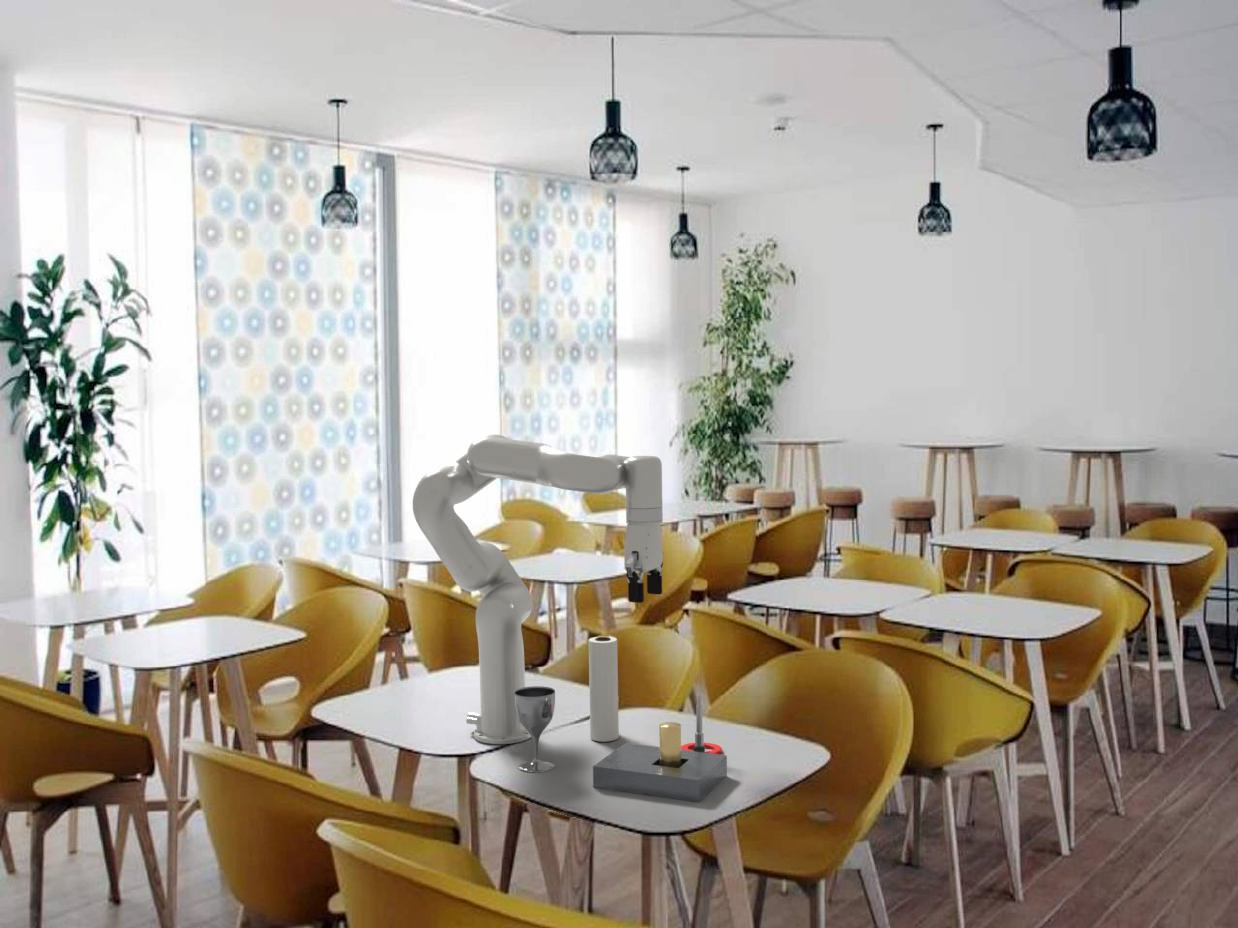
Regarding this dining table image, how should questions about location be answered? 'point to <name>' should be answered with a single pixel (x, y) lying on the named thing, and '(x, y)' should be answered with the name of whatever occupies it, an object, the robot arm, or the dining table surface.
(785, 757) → the dining table surface
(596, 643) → the paper towel roll
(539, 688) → the wine glass
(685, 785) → the grey block with hole
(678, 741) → the brass pin
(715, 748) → the tow hook
